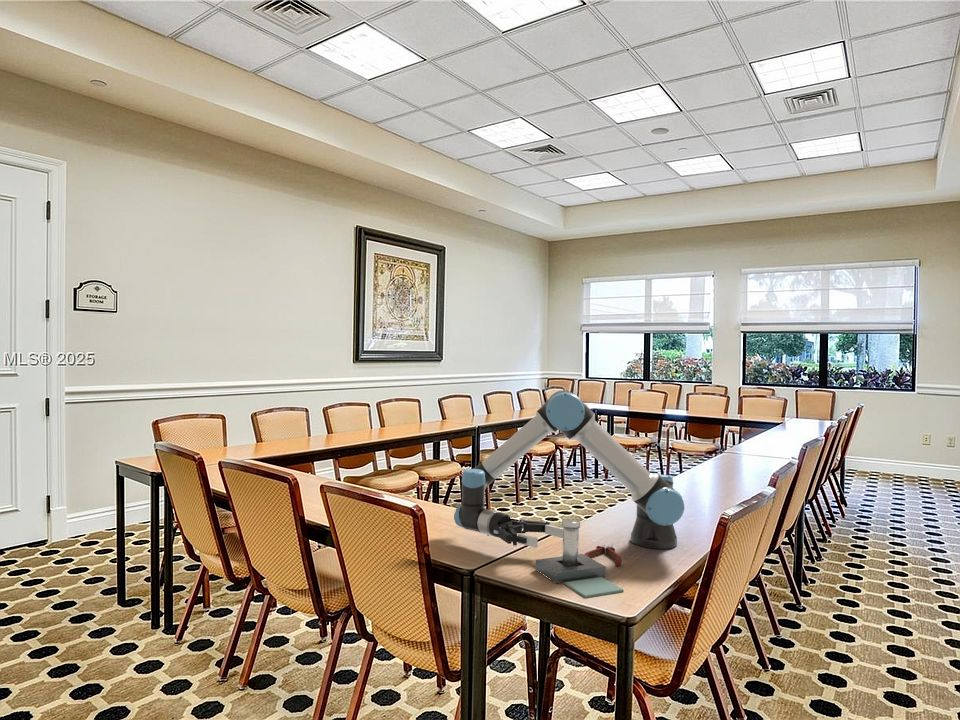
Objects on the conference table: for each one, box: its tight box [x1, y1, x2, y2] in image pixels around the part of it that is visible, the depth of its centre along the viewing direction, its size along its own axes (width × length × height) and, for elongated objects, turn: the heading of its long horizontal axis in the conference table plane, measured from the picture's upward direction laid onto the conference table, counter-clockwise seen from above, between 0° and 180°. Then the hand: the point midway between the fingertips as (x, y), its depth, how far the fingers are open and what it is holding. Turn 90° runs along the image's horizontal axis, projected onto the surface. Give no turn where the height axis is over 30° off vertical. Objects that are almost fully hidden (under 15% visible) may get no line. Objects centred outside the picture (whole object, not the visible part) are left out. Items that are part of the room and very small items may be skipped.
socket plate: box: [534, 553, 607, 584], centre depth 177 cm, size 16×12×3 cm
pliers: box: [584, 542, 623, 568], centre depth 195 cm, size 12×20×3 cm, turn 163°
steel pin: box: [561, 518, 581, 567], centre depth 177 cm, size 5×5×15 cm
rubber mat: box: [564, 577, 624, 599], centre depth 166 cm, size 12×10×1 cm
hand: (550, 538), depth 181 cm, fingers open, 13 cm apart
